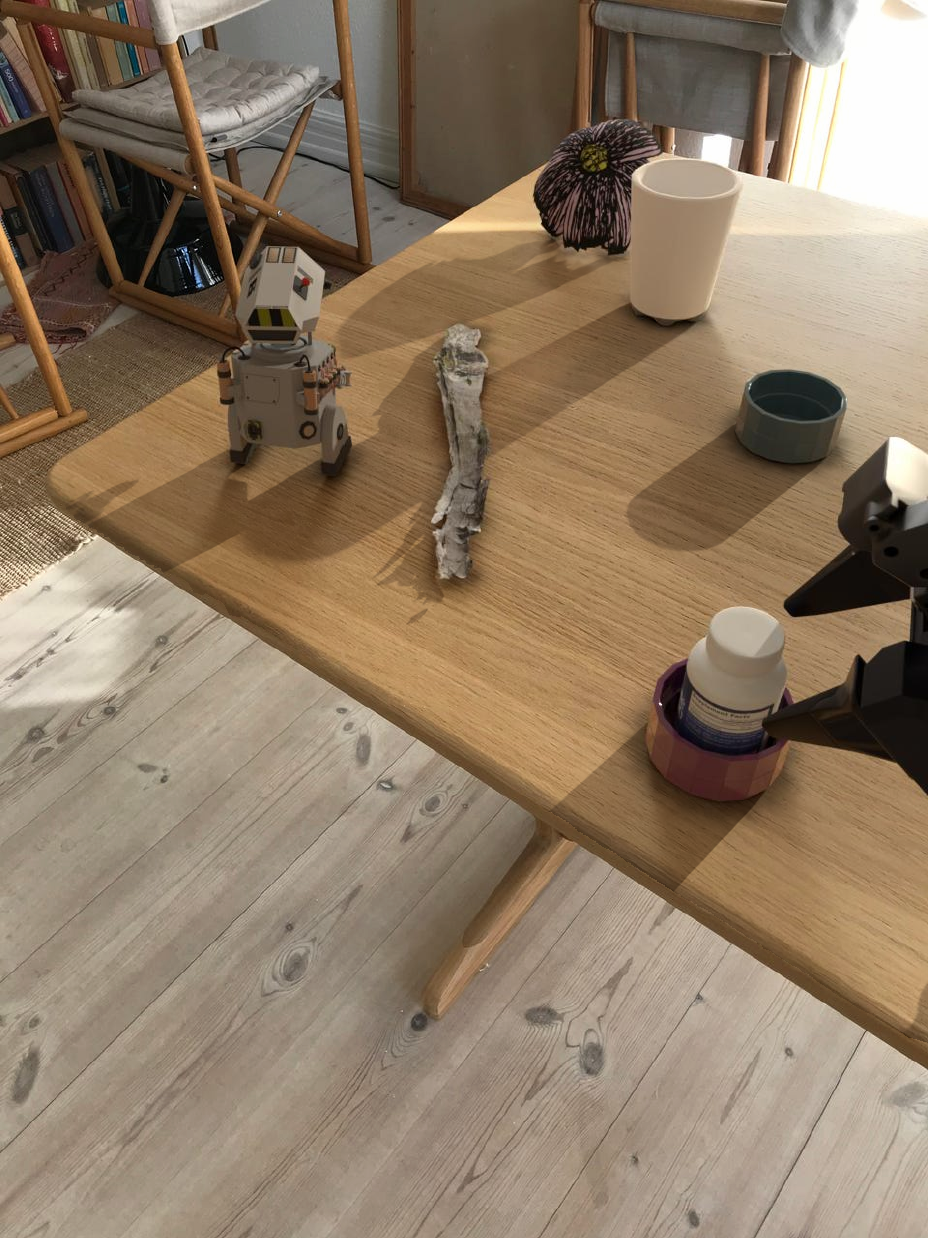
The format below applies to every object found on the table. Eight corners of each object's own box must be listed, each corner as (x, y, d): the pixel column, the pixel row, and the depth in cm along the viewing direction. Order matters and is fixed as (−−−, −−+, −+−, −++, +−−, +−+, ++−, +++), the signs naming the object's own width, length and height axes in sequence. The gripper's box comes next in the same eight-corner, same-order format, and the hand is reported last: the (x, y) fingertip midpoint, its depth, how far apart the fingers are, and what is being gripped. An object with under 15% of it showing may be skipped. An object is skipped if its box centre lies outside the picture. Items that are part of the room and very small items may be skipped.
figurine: (373, 412, 86) (359, 242, 76) (330, 492, 78) (308, 314, 68) (273, 400, 88) (246, 231, 77) (221, 476, 80) (183, 300, 69)
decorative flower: (502, 146, 104) (599, 70, 108) (500, 228, 115) (589, 157, 119) (607, 222, 100) (704, 140, 104) (595, 300, 111) (683, 224, 115)
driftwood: (491, 328, 97) (440, 333, 97) (489, 303, 95) (437, 308, 96) (493, 581, 70) (422, 586, 71) (489, 554, 69) (417, 559, 69)
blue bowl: (837, 419, 85) (849, 378, 82) (831, 473, 80) (844, 430, 77) (741, 404, 87) (750, 362, 84) (729, 455, 81) (738, 413, 79)
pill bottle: (697, 698, 63) (725, 583, 56) (777, 739, 60) (816, 624, 53) (653, 752, 60) (677, 638, 53) (736, 798, 57) (771, 684, 50)
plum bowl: (787, 715, 62) (802, 671, 59) (774, 819, 57) (790, 776, 54) (658, 685, 64) (667, 641, 61) (633, 783, 58) (642, 740, 56)
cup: (722, 291, 102) (746, 162, 93) (715, 339, 95) (740, 204, 86) (624, 281, 103) (638, 153, 94) (610, 327, 97) (624, 193, 88)
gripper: (989, 313, 47) (716, 462, 58) (999, 560, 35) (648, 693, 45) (1101, 480, 51) (825, 592, 61) (1146, 758, 38) (789, 840, 49)
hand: (777, 666), depth 54 cm, fingers open, 9 cm apart
